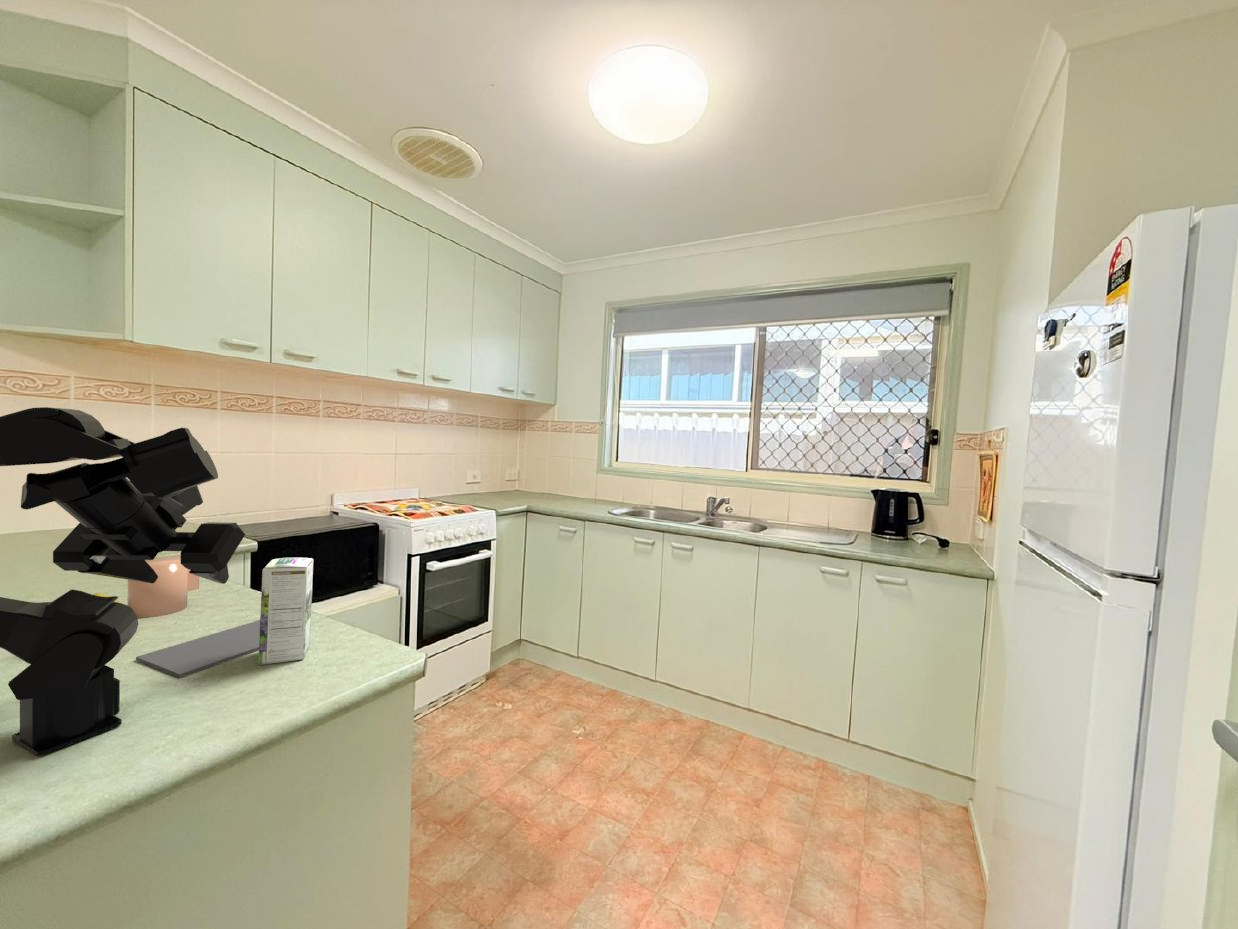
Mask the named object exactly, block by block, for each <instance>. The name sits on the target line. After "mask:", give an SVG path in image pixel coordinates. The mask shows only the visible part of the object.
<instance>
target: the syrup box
mask: <svg viewBox="0 0 1238 929" xmlns="http://www.w3.org/2000/svg"><path fill="white" fill-rule="evenodd" d="M261 573H262V574H261V576H262V577H261V594H260V595H261V596H260V598H261V599H260V615H259V616H260V619H259V620H260V638H259V650H258V662H257V663H258V665H269V664H277V663H285V662H293V661H300V660H304V659H305V657H306V654H307V651H308V649H309V647H310V644H311V622H312V621H311V620H312V606H313V605H312V602H313V601H312V600H313V577H314V576H313V575H314V558H312V557H310V558H309V557H282V558H281V557H280V558H274V559H271V560H270V561H269V562H268V563H267V564H266V566H265V567H264V568H262V572H261Z"/></svg>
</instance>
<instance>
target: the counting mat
mask: <svg viewBox="0 0 1238 929" xmlns="http://www.w3.org/2000/svg"><path fill="white" fill-rule="evenodd" d="M259 638H260V619H259V620H254V621H252V622H248V623H245V624H242V625H239V626H236V627H232V628H231V627H230V628H228V629H224V630H222V631H218V632H215V633H211V634H209V635H205V636H202V637H198V638H195V639H192V640H188V641H186V642H181V643H178V644H175V645H171V646H168V647H164V648H161V649H158V650H154V651H151V652H148V653H144V654H141V655H138V656H135V661H137V662H140V663H142V664H144V665H147V666H149V667H152V668H154V669H156V670H159V671H162V672H164V673H167V674H169V675H172V676H174V677H177V678H180V679H181V678H184V677H186V676H190V675H192V674H195V673H197V672H200V671H203V670H207V669H209V668H212V667H215V666H218V665H221V664H223V663H226V662H229V661H231V660H235V659H238V658H240V657H243V656H246V655H250V654H252V653H255V652H259Z"/></svg>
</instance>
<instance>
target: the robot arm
mask: <svg viewBox="0 0 1238 929" xmlns="http://www.w3.org/2000/svg"><path fill="white" fill-rule="evenodd" d="M114 458H116V459H114ZM108 459H113V460H111V461H106V462H96V463H87V462H82V463H80V464H77V465H74V466H69V467H67V468H63V469H59V470H55V471H53V472H48V473H35V472H28V473H27V474H26V478H25V479H26V480H25V482H24V484H23V485H22V486H21V498H20V508H21V509H22V510H32V509H34V508H36V507H37V508H38V507H41V506H44V505H46V504H50V503H53V502H55V503H56V504H57V505H58V506H59V507H61V508H62V509H63V510H64V511H65V512H67V514H69V516H71V517H73V518H74V519H75V520H76V521H78V522H79V523H78V524H77V525H76V526H75V527H74V528H73V529H72V530H71V531H70V533H69V534H68V535H66V537H65V538H64V539H63V540H62V541H61V542H60V544H58V546H57V547H55V549H54V550H53V551H52V563H53V564H54V565H56V566H58V568H60V569H61V570H63V571H65V572H66V571H71V572H73V571H74V572H75V571H76V572H78V573H79V574H80V573H81V574H89V575H90V574H91V575H97V576H102V577H109V578H116V579H123V580H126V581H128V580H133V581H139V582H145V583H155V581H156V580H157V579H158V575H157V574H156V572H155V571H154V570H153V569H152V567H151V566H150V565H149V564H148V563H147V562H146V561H145V560H153V559H154V558H157V557H156V556H157V555H158V554H159V553H162V552H180V557H181V564H182V565H183V566H184V567H185V568H187V569H190V572H189V573H190V574H193V575H196V576H199V578H202V579H205V580H209V581H212V582H215V583H218V584H221V585H223V584H224V585H225V584H226V583H227V582H228V580H229V579H230V575H229V568H228V563H229V561H230V560H231V559H232V557H233V555H234V554H235V552H236V551H237V549H238V547H239V545H240V544H241V542H242V541H243V539H244V538H245V536H246V533H245V532H244V530H243V529H242V528H241V526H239V525H238V523H237V522H218V521H217V522H214V521H213V522H212V521H211V522H203V523H200V525H199V526H198V527H197V529H196V531H195V532H193V531H189V532H188V531H177V528H179V529H180V528H183V526H184V525H185V523H186V522H187V518H185V516H184V515H185V514H187V513H188V512H190V511H191V510H193V509H194V508H196V507H197V506H201V505H202V504H203V503H204V500H203V497H202V495H201V491H200V489H199V486H200V485H202V484H205V483H209V482H211V481H215V480H217V479H218V478H219V474H218V470H217V467H216V465H215V463H214V461H213V459H212V457H211V455H210V453H209V451H208V450H205V448H203V446H202V444H201V443H200V442H199V441H198V439H196V437H194V436H193V434H192V433H191V431H190V429H189V427H179V428H175V429H172V430H170V431H168V432H166V433H164V434H161V435H159V436H156V437H152V438H148V439H146V440H142V441H138V442H135V441H131V440H129V439H128V438H125V437H123V436H119V435H117V434H114V433H112V432H111V431H108V430H105V427H103V425H102V423H101V422H100V421H99V419H96V418H95V417H94V415H92V414H89V413H87V412H85V411H83V410H80V409H75V408H74V409H72V408H62V407H61V408H60V407H48V406H47V407H31V408H27V409H22V410H19V411H16V412H12V413H8V414H4V415H1V416H0V467H10V466H12V467H13V466H27V465H28V466H29V465H42V464H43V465H44V464H45V465H46V464H54V463H56V464H57V463H64V462H71V461H77V460H88V461H101V460H108ZM118 599H119V596H116V595H114V596H110V597H101V596H95V595H94V594H91V593H88V592H85V591H83V590H78V589H70V590H68V591H67V592H65V593H64V594H61V596H58V597H57V598H56V599H54V600H52V601H47V602H45V601H44V602H36V601H35V602H33V601H26V600H19V599H13V598H9V597H3V596H0V649H3V650H4V651H6V652H7V653H10V654H11V655H13V656H15V657H16V658H18V659H20V660H22V661H23V662H25V663H27V664H29V665H28V666H27V667H25V668H24V669H23V670H22V671H21V672H19V673H17V675H16V676H15V677H13V678H12V679H11V680H9V681H8V684H7V685H8V687H9V689H10V690H11V692H12V694H13V695H14V697H15V699H16V700H17V701H19V732H16V733H13V734H12V735H11V741H13V742H14V743H16V744H18V745H19V746H21V747H22V748H24V749H26V750H27V751H29V752H31V753H32V754H34V755H35V756H39V757H40V756H45V755H47V754H50V753H53V752H55V751H57V750H59V749H62V748H66V747H67V746H71V745H73V744H75V743H78V742H80V741H83V740H86V739H88V738H91V737H93V736H96V735H98V734H101V733H104V732H106V731H109V730H112V729H114V728H116V727H119V726H121V725H122V722H123V721H122V718H120V717H118V716H117V715H119V713H120V704H121V702H120V701H121V700H120V698H121V697H120V696H121V695H120V690H121V688H120V687H121V686H120V685H121V684H120V683H121V680H120V679H119V678H116V677H115V668H112V667H111V666H108V665H107V664H108V663H109V662H111V661H112V660H113V659H114V658H115V657H116V656H117V655H118V654H119V653H120V651H121V650H123V648H124V647H125V646H126V645H127V644H129V642H130V640H131V639H132V638H133V637H134V635H135V634H136V633H137V630H138V627H139V620H138V619H139V618H137V616H136V614H135V613H134V611H133V609H132V608H131V607H129V606H128V604H125V603H121V602H119V601H118ZM115 600H117V601H118V602H119V603H118V602H114V601H115Z"/></svg>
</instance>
